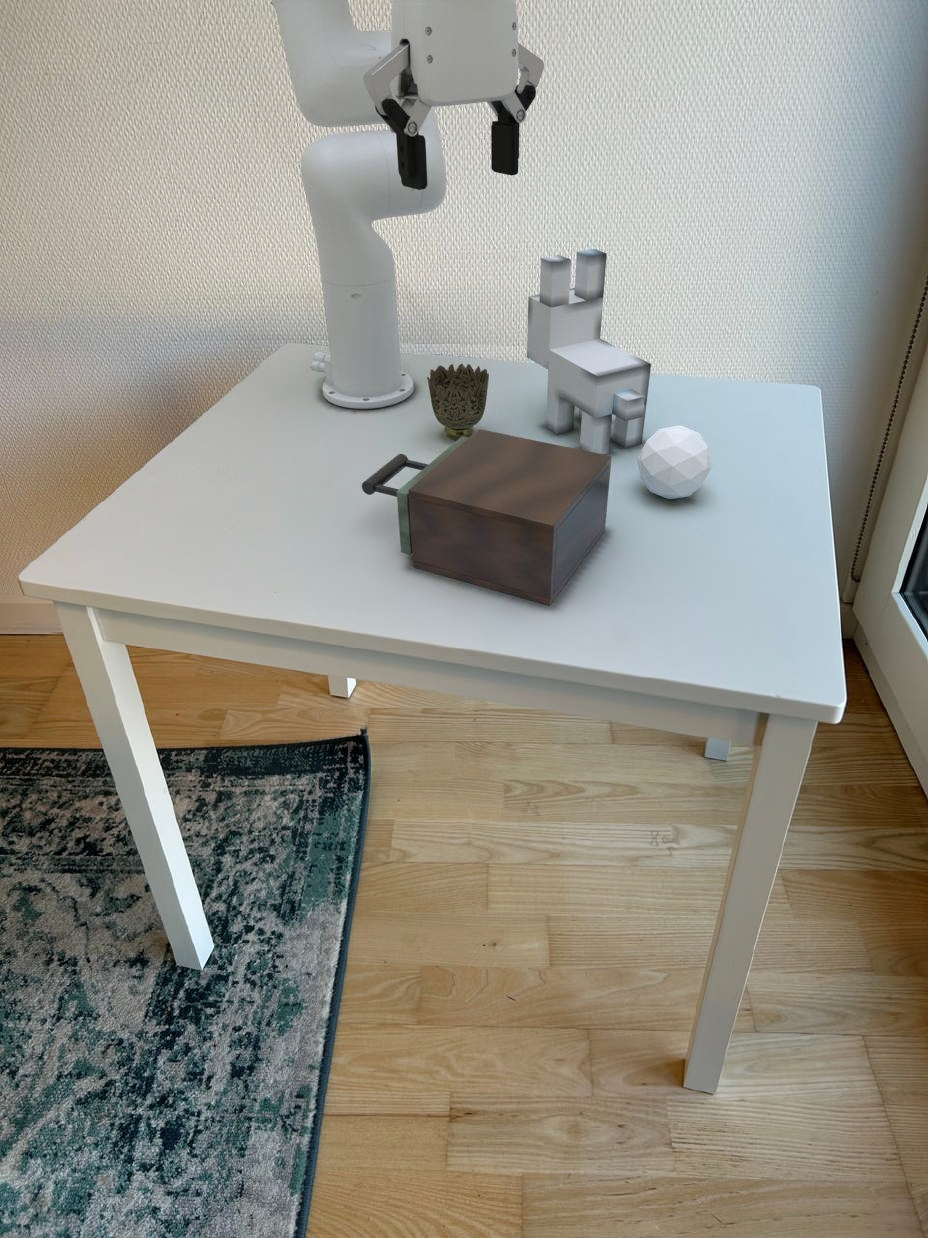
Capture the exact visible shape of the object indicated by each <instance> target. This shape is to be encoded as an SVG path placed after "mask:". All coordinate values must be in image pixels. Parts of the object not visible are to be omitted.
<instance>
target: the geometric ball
mask: <svg viewBox="0 0 928 1238" xmlns="http://www.w3.org/2000/svg"><path fill="white" fill-rule="evenodd" d="M709 448H710V447H709V446H708V444H707V442H706V441H705V439H704V438H703V436H702V435H701V433H700V432H698V431H695V430H693V429H690V428H688V427H685V426H684V425H680V424H679V425H673V426H667V427H662V428H661V427H660V428H659V429H657V430H656V432H654V433H653V434H652V435H651V436H650V437H649V438H648V439H647V440H646V441H645V442H644V444H643V447H642V448H641V450H640V452H639V454H638V456H637V459H636V461H637V465H638V472H639V478H640V480H641V482H642V483H643V484H644V485H645V487H646V488H647V490H648V491H649V492H650V493H652V494H655V495H657V496H660V497H662V498H664V499H667V500H674V499H680V498H681V499H682V498H688V497H690V496H692V495H693V494H694V493H695V492H696V491H697V490H699V489H700V488H701V487H702V486H703V484H704V483H705V481H706V479H707V477H708V476H709V473H710V472H711V470H712V468H713V464H712V460H711V454H710V449H709Z"/></svg>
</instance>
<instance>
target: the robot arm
mask: <svg viewBox="0 0 928 1238" xmlns="http://www.w3.org/2000/svg"><path fill="white" fill-rule="evenodd" d="M271 1H272V4H273V7H274V10H275V14H276V17H277V22H278V27H279V31H280V36H281V40H282V44H283V49H284V53H285V58H286V62H287V66H288V70H289V75H290V79H291V83H292V87H293V91H294V94H295V98H296V102H297V104H298V108H299V110H300V112H301V114H302V116H303V117H304V118H305V120H306V121H307V122H308V123H310V125H313V126H317V127H321V128H344V127H358V126H370V125H387V126H388V128H389V129H382V130H381V129H380V130H361V131H350V132H339V133H333V134H329V135H325V136H320V137H319V138H317V139H315V140H313V141H312V142H311V143H310V144H309V145H307V147H306V148H305V150H304V151H303V154H302V156H301V160H300V173H301V181H302V186H303V191H304V194H305V198H306V202H307V205H308V209H309V212H310V217H311V221H312V225H313V226H312V227H313V231H314V235H315V242H316V247H317V248H316V249H317V254H318V262H319V271H320V280H321V288H322V296H323V297H322V298H323V305H324V314H325V322H326V323H325V324H326V330H327V331H326V332H327V340H328V349H329V350H328V351H329V353H328V352H322V351H319V350H318V351H317V350H316V351H315V352H314V354H313V357H312V361H311V363H310V370H312V371H314V372H317V373H324V374H325V381H324V382H323V384H322V387H321V388H322V395H323V397H324V399H326V401H328V402H329V403H331V404H333V405H336V406H339V407H343V408H348V409H356V410H357V409H359V410H360V409H362V410H366V409H367V410H368V409H378V408H385V407H389V406H392V405H396V404H398V403H401V402H403V401H404V400H406V399H408V398H409V397H410V396H411V395H412V394H413V392H414V390H415V389H414V388H415V386H414V383H415V382H414V379H413V377H412V376H410V375H409V374H408V373H406V372H405V371H403V370H402V359H401V358H402V357H401V343H400V329H399V314H398V313H399V311H398V298H397V297H398V295H397V282H396V281H397V280H396V264H395V258H394V254H393V252H392V250H391V248H390V247H389V245H388V244H387V242H386V241H385V240H384V239H383V238H382V237H381V236H380V235H379V233H378V232H377V231H376V230H375V229H374V226H373V222H376V221H378V220H384V219H389V218H398V217H407V216H415V215H422V214H427V213H430V212H432V211H435V210H436V209H438V208H439V207H440V206H441V204H442V203H443V201H444V199H445V196H446V194H447V193H446V192H447V184H448V183H447V167H446V160H445V154H444V149H443V145H442V144H443V143H442V139H441V135H440V130H439V125H438V120H437V114H436V109H435V108H436V107H438V108H439V107H450V106H460V105H471V104H480V103H487V104H488V105H489V107H490V109H491V110H492V112H493V113H494V115H495V116H496V119H497V120H493V121H491V126H490V142H491V143H490V145H491V146H490V149H491V151H490V152H491V153H490V157H491V159H490V161H491V163H490V164H491V165H490V167H491V171H493V172H494V173H497V174H503V175H506V176H517V175H518V174H519V159H520V124H523V123H524V122H525V121H526V118H527V111H528V110H529V108H530V107H531V105H532V104H533V102H534V100H535V99H536V96H537V90H536V89H537V88H538V86H539V83H540V81H541V77H542V74H543V72H544V68H545V63H544V61H543V60H542V59H541V58H540V57H539V56H537V55H536V54H535V53H533V52H532V51H530V50H529V49H528V48H526V47H525V46H524V45H522V44H521V43H519V29H518V25H519V24H518V11H517V0H392V1H391V23H390V24H391V29H390V30H389V29H388V30H387V29H386V30H360V29H359V28H357V27H356V26H355V24H354V22H353V17H352V14H351V9H350V4H349V0H271ZM519 71H520V76H519ZM518 77H519V78H518ZM518 79H519V82H518Z"/></svg>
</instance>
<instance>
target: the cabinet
mask: <svg viewBox="0 0 928 1238" xmlns="http://www.w3.org/2000/svg"><path fill="white" fill-rule="evenodd" d="M611 469H612V455H609V454H599V453H594V452H589V451H584V450H580V448H579V449H578V448H575V447H569V446H565V445H564V446H563V445H561V444H560V445H559V444H554V443H549V442H544V441H541V440H540V441H539V440H535V439H532V438H531V439H530V438H526V437H520V436H516V435H510V434H506V433H501V432H495V431H491V430H486V429H482V428H478V429H477V430H476V431H474V432H473V434H472V435H471V436H470V437H469V438H468V439H467V440H466V441H464V442H463V443H462V444H461V445H460V446H459V447H457V448H456V449H455V450H454V451H453V452H452V453H451V454H449V455H448V456H447V457H446V458H445V459H444V460H442V461H441V462H440V463H439V464H438V465H437V466H435V467H434V468H433V469H432V470H431V471H430V472H429V473H427V474H426V475H425V476H424V477H423V478H422V479H420V480H419V481H418V482H417V483H416V484H415V485H413V486H412V487H411V488H410V489H409V490H408V493H409V509H410V525H411V540H412V554H411V556H412V567H413V568H415V569H420V570H422V571H426V572H430V573H433V574H437V575H441V576H444V577H448V578H451V579H454V580H458V581H461V582H465V583H469V584H472V585H476V586H479V587H482V588H485V589H486V588H487V589H489V590H494V591H497V592H501V593H504V594H507V595H511V596H515V597H518V598H523V599H525V600H529V601H532V602H536V603H540V604H542V605H546V606H551V605H552V603H553V602H554V600H555V599H556V598H557V596H558V595H559V594H560V593H561V591H562V590H563V588H564V587H565V586H566V584H567V583H568V582H569V580H570V579H571V577H572V576H573V575H574V573H575V572H576V571H577V570H578V568H579V567H580V565H581V564H582V562H583V561H584V560H585V559H586V557H587V556H588V554H589V553H590V552H591V550H592V549H593V548H594V546H595V545H596V544H597V542H598V541H599V540H600V538H601V537H602V535H603V534H604V533H605V530H606V521H607V513H608V511H607V510H608V501H609V491H610V479H611Z"/></svg>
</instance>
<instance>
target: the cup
mask: <svg viewBox="0 0 928 1238" xmlns="http://www.w3.org/2000/svg"><path fill="white" fill-rule="evenodd" d="M429 376H430V377H429ZM429 376H427V377H426V379H427V383H428V390H429V396H430V402H431V406H432V407H431V408H432V411H433V414H434V416H435V419H436V420H437V421H438V422H439V424H440V425H442V426H443V427H444V433H445V435H446V436H447V437H448V438H449V439H451V440H455V441H457V440H458V439H459V438H460V437H462V436H464V437H470V436H471V435H473V434H474V433H475V427H474V426H476V425H477V424H478V423H479V422H480V421H481V419H482V418H483V416H484V413H485V410H486V405H487V399H488V398H487V397H488V390H489V381H490V380H489V379H490V374H489V372H488V369H487V368H483V369H482V370H481V367H480V365H478V366H476V368H475V370H474V368H473V367H472V365H471V364H470V363H468V364H467V365H466V366H465V365H464V363H460V364H459V365H458V366H457V368H456V369H455V366H454V364H453V363H451V364H450V365H449V366H448V368H446V367H445V366H443V365H441V364H440V365H438V366H437V367H436V368H435V370H434V369H430V370H429Z"/></svg>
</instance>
